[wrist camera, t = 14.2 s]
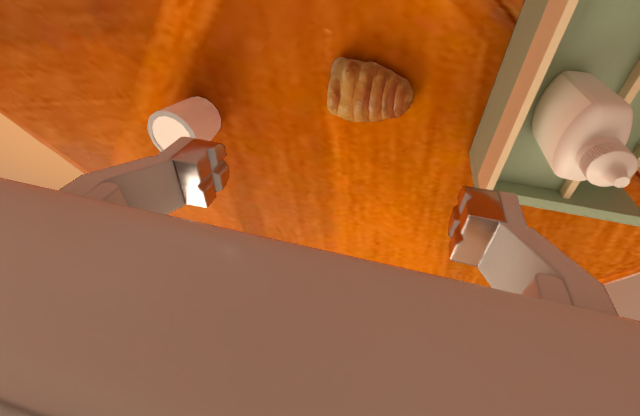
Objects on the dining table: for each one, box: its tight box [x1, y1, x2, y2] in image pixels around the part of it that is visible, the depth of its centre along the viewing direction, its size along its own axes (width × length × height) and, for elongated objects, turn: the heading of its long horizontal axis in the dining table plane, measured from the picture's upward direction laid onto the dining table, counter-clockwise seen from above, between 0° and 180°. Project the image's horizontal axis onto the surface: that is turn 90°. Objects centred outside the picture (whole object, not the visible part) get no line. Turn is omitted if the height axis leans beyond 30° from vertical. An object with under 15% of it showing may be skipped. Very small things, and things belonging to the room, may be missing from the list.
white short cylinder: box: [147, 96, 221, 152], centre depth 43 cm, size 7×7×7 cm
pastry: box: [327, 57, 414, 122], centre depth 36 cm, size 9×7×4 cm
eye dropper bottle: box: [532, 71, 638, 188], centre depth 23 cm, size 4×6×12 cm
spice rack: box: [469, 0, 640, 227], centre depth 28 cm, size 18×14×11 cm
